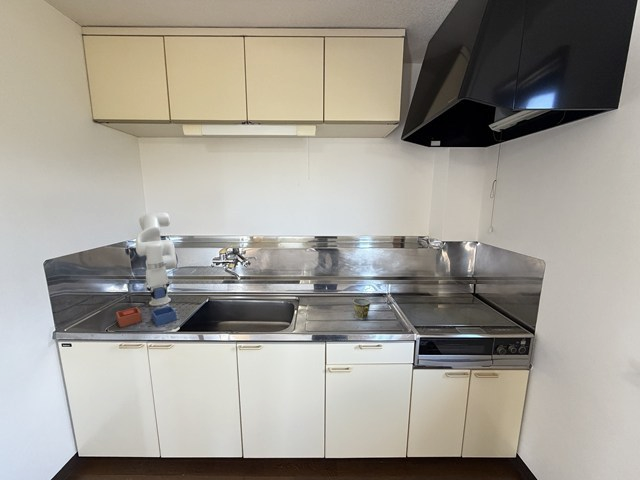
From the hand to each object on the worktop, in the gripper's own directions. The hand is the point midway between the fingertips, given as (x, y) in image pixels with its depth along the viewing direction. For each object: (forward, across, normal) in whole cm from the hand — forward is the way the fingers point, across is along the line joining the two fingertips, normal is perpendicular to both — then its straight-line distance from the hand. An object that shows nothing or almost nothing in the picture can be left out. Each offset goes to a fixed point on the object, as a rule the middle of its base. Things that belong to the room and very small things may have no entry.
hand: (159, 296), depth 154 cm
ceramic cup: (+15, -87, +77) cm, 117 cm away
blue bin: (+15, -1, 0) cm, 15 cm away
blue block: (0, 0, 0) cm, 0 cm away
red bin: (+15, +14, -12) cm, 23 cm away
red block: (+14, +14, -12) cm, 23 cm away
